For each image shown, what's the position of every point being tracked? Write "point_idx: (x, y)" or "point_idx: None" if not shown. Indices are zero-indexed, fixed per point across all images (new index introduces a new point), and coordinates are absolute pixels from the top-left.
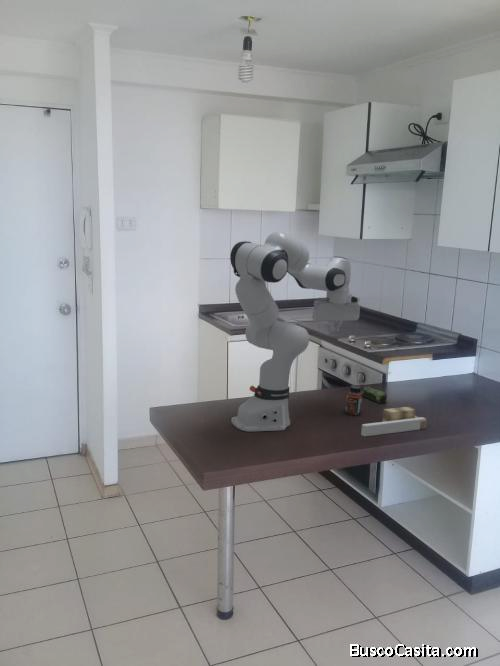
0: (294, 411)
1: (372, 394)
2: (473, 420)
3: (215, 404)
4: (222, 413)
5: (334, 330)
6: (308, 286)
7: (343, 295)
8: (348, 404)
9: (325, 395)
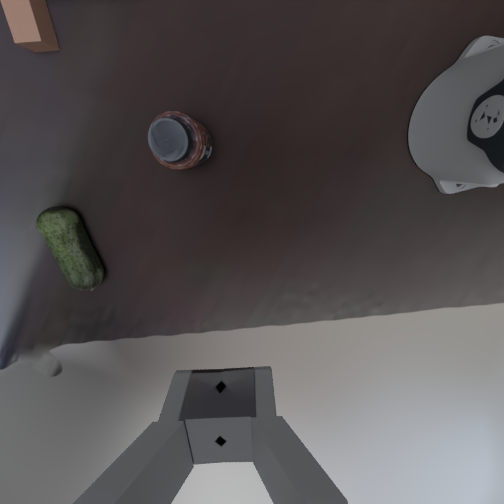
0: (346, 196)
1: (79, 240)
2: None
3: (497, 283)
4: None
5: (244, 379)
6: None
7: None
8: (207, 137)
9: (202, 295)
